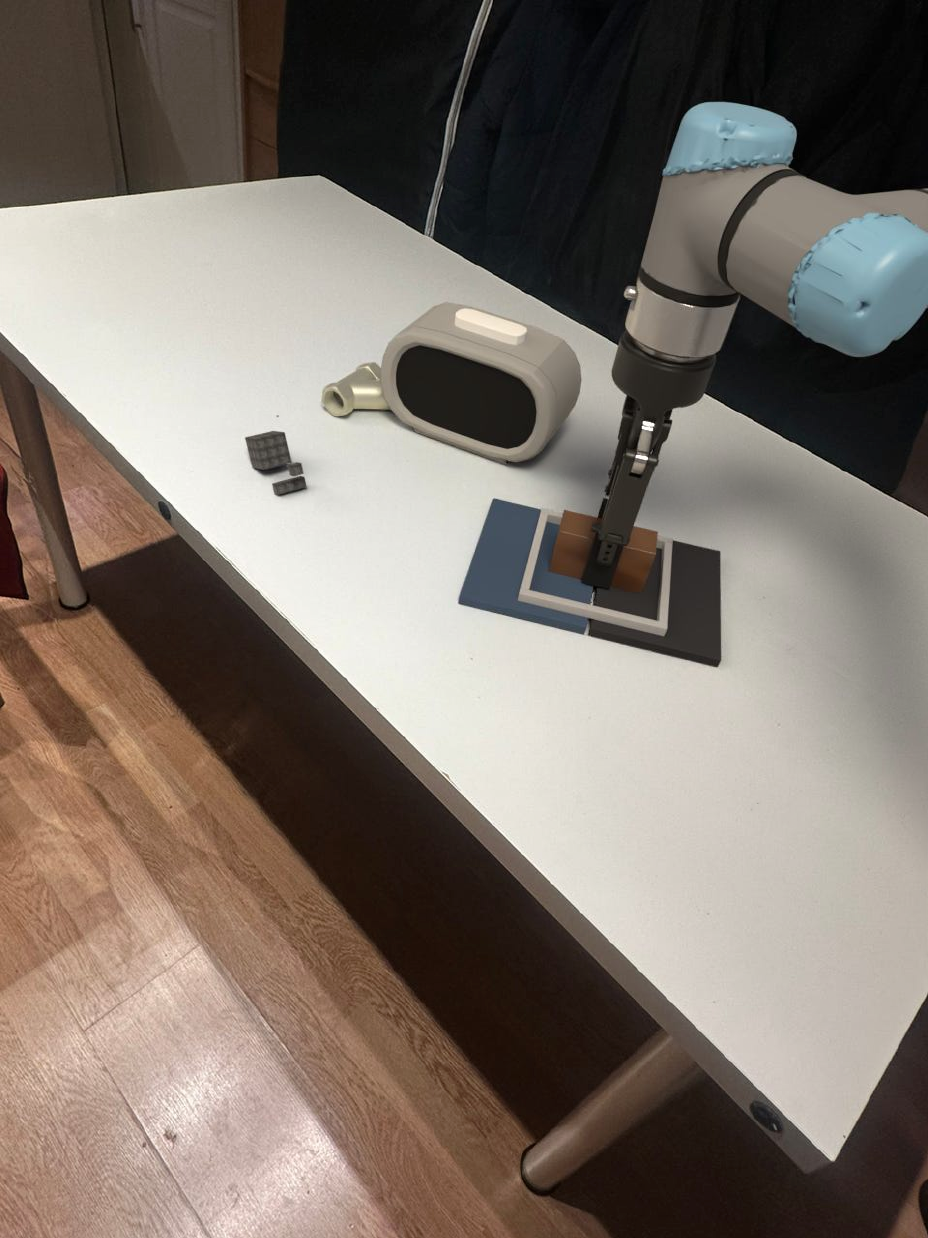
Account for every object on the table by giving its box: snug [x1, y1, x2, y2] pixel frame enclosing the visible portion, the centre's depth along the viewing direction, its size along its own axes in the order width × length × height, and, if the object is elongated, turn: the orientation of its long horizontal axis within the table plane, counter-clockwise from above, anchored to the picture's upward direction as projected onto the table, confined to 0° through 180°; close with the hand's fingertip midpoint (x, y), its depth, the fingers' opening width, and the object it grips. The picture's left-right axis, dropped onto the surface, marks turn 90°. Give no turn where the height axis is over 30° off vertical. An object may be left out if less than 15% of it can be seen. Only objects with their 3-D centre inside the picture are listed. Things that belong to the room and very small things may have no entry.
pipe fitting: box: [321, 361, 392, 417], centre depth 96 cm, size 8×4×7 cm
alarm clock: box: [380, 301, 582, 465], centre depth 92 cm, size 21×10×13 cm, turn 65°
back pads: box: [458, 497, 722, 668], centre depth 79 cm, size 24×16×2 cm, turn 77°
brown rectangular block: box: [549, 509, 659, 594], centre depth 78 cm, size 9×4×5 cm, turn 77°
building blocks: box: [244, 430, 308, 496], centre depth 84 cm, size 3×6×8 cm
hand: (598, 569), depth 79 cm, fingers closed on brown rectangular block, 3 cm apart
